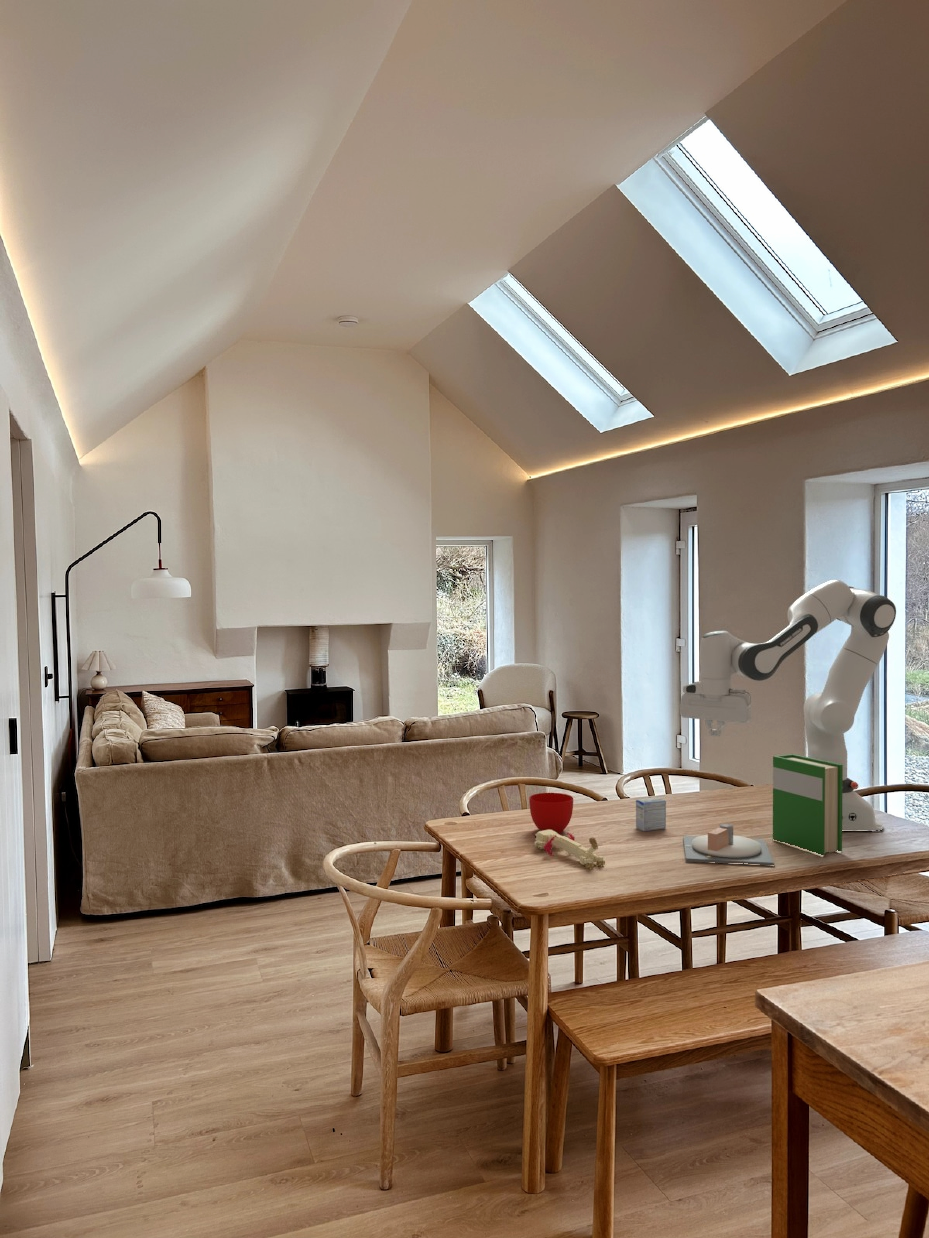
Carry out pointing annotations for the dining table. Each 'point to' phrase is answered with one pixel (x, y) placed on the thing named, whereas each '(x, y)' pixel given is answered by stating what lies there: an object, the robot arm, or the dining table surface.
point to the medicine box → (650, 814)
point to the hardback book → (807, 803)
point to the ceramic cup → (551, 811)
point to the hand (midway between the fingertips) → (714, 735)
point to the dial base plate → (696, 856)
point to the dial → (726, 843)
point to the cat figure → (569, 847)
